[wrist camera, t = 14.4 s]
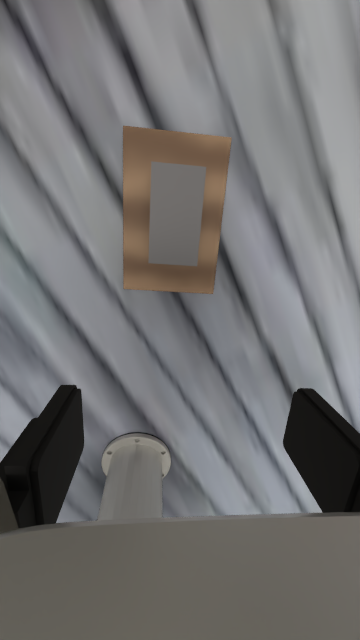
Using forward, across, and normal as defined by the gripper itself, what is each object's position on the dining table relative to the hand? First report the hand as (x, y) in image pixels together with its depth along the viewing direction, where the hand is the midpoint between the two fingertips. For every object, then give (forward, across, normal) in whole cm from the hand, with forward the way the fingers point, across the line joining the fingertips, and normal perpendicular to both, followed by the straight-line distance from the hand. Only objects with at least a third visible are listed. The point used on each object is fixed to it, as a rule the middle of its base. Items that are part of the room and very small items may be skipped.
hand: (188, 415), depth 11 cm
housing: (+24, 0, -10) cm, 26 cm away
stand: (+27, 0, -10) cm, 29 cm away
